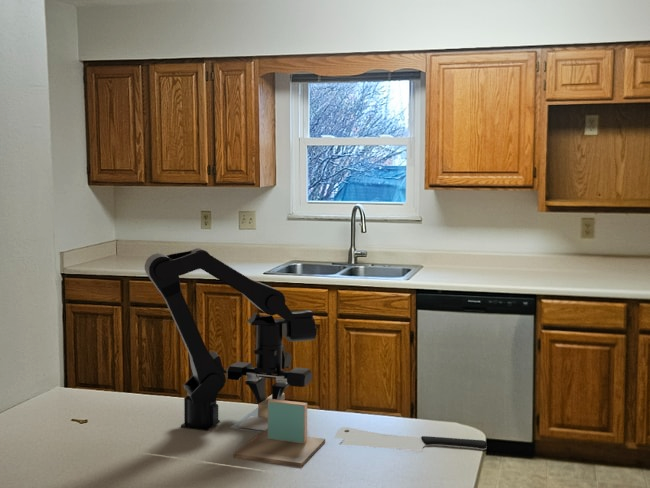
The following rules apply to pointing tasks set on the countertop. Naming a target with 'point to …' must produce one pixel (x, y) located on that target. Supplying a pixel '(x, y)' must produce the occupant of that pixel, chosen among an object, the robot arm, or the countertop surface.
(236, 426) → the mat
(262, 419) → the turner
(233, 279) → the robot arm
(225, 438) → the countertop surface
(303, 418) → the tile
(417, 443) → the kitchen cleaver
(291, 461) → the board
